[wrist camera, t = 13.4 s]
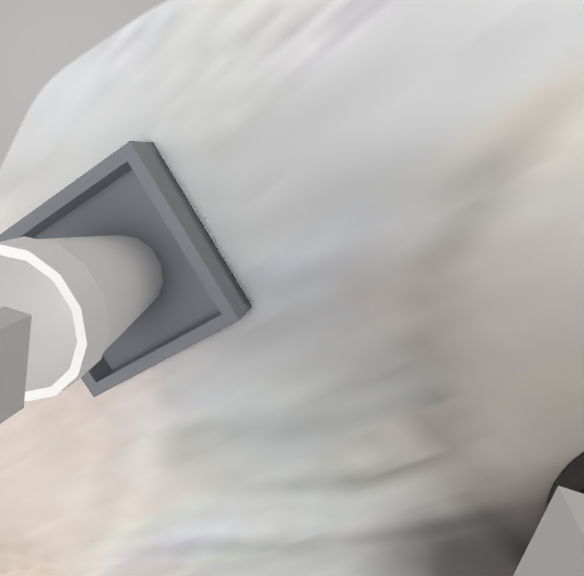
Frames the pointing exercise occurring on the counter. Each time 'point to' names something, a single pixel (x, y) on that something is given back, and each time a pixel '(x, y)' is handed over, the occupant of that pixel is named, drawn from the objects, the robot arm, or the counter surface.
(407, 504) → the counter surface
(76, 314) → the foam cup
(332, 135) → the counter surface
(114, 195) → the bin
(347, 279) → the counter surface
